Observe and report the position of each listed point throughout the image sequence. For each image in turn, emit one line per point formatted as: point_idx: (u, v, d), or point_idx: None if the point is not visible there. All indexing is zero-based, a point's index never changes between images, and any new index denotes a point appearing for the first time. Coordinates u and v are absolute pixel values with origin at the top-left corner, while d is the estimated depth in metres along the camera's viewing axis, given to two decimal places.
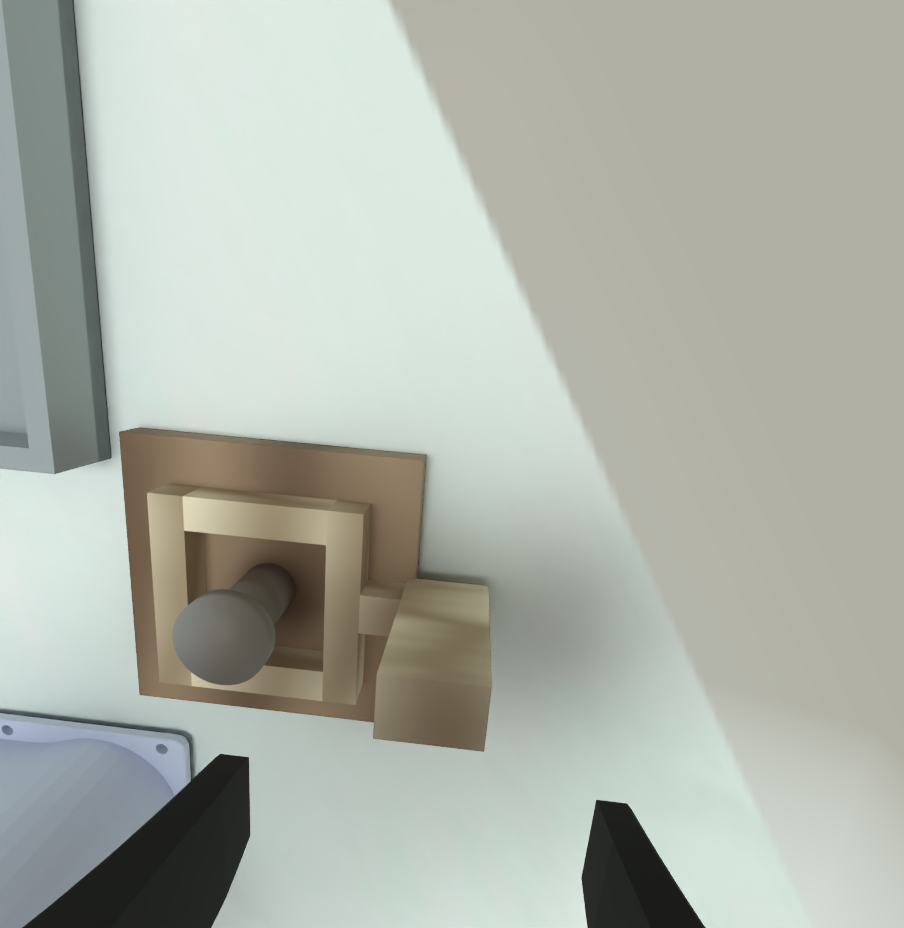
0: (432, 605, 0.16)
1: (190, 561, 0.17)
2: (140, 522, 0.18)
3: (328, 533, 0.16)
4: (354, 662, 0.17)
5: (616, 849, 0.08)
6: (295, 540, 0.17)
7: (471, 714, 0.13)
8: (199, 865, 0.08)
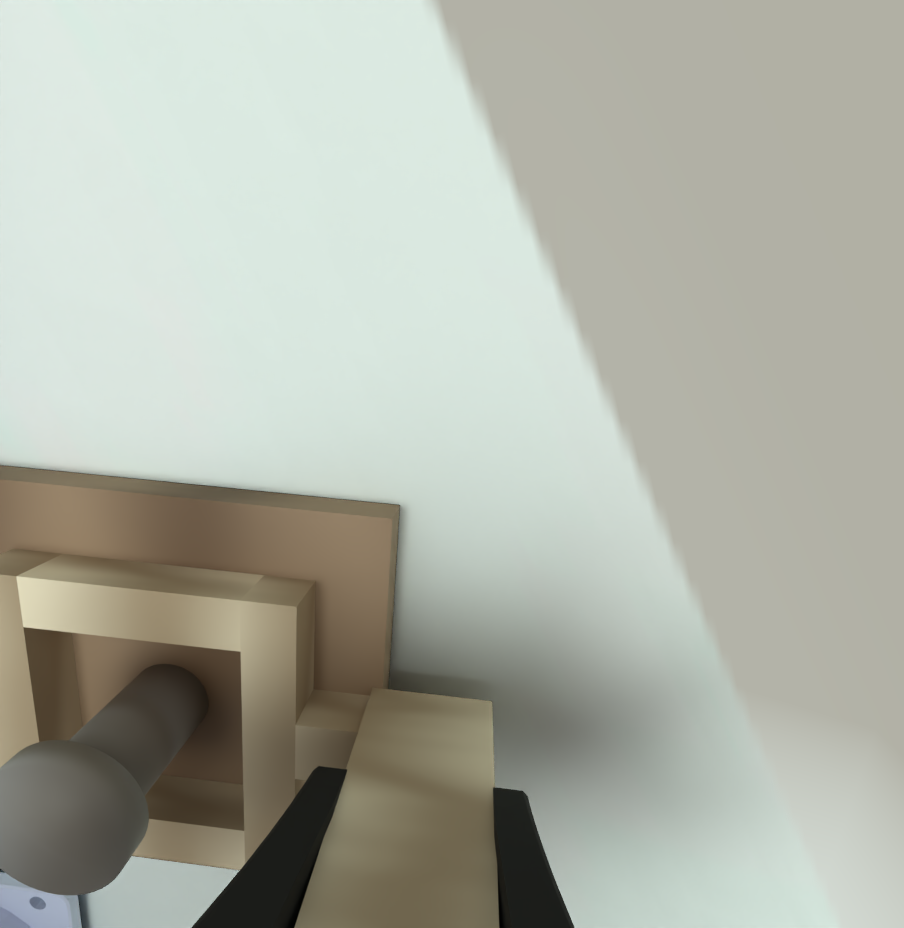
0: (405, 751, 0.10)
1: (40, 668, 0.11)
2: None
3: (243, 634, 0.10)
4: None
5: (497, 834, 0.08)
6: (194, 643, 0.11)
7: None
8: None
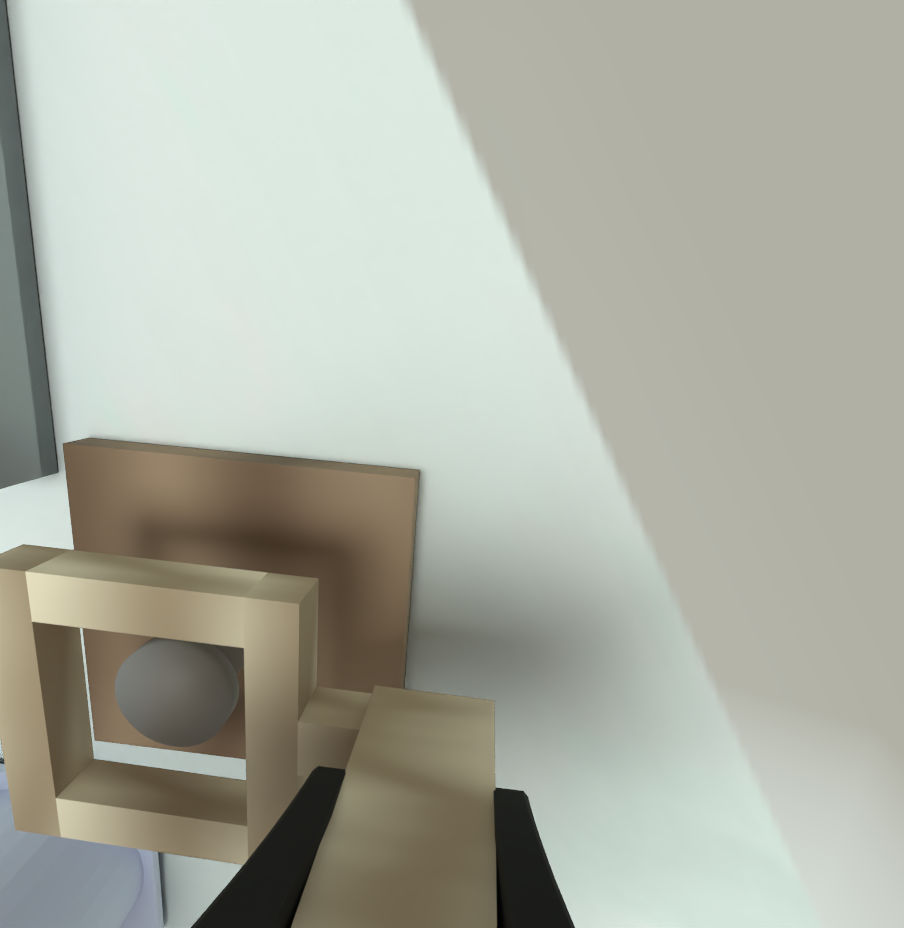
0: (405, 748, 0.10)
1: (48, 662, 0.12)
2: (90, 547, 0.16)
3: (246, 631, 0.11)
4: None
5: (497, 834, 0.08)
6: (198, 639, 0.11)
7: None
8: None
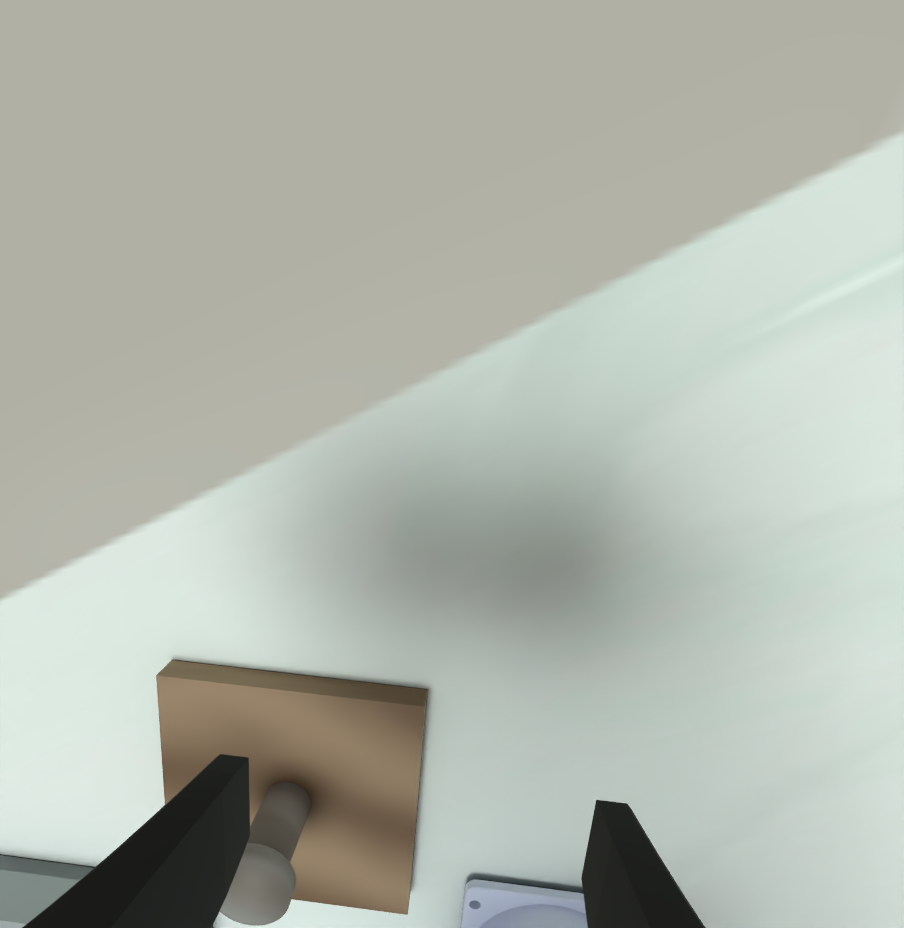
0: None
1: None
2: None
3: None
4: None
5: (616, 849, 0.08)
6: None
7: None
8: (199, 865, 0.08)
